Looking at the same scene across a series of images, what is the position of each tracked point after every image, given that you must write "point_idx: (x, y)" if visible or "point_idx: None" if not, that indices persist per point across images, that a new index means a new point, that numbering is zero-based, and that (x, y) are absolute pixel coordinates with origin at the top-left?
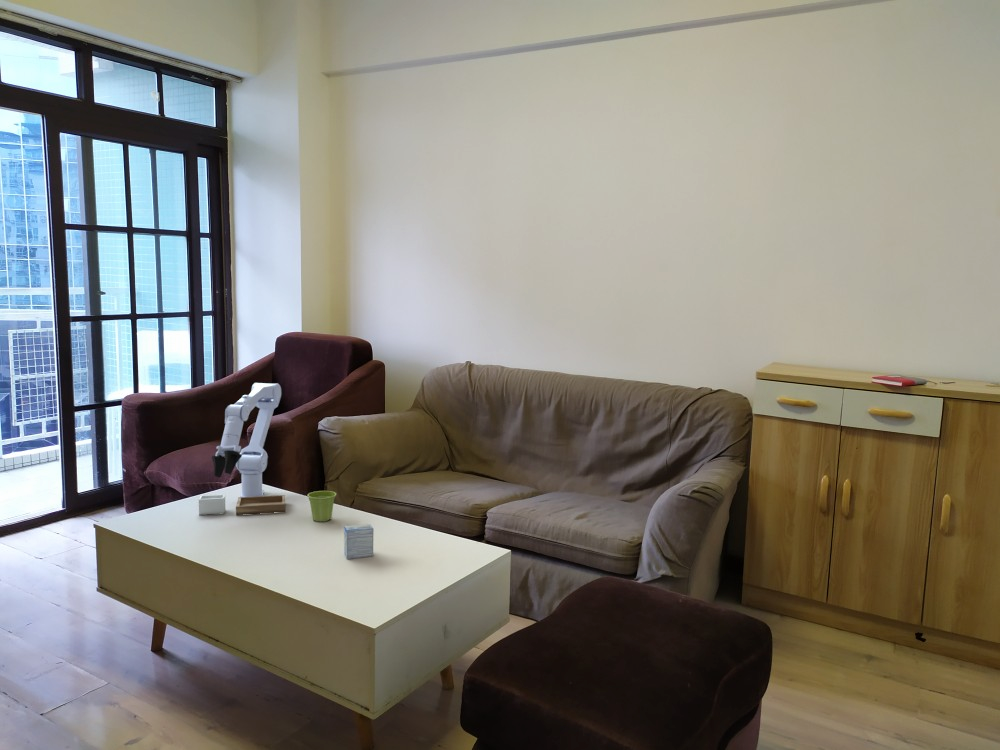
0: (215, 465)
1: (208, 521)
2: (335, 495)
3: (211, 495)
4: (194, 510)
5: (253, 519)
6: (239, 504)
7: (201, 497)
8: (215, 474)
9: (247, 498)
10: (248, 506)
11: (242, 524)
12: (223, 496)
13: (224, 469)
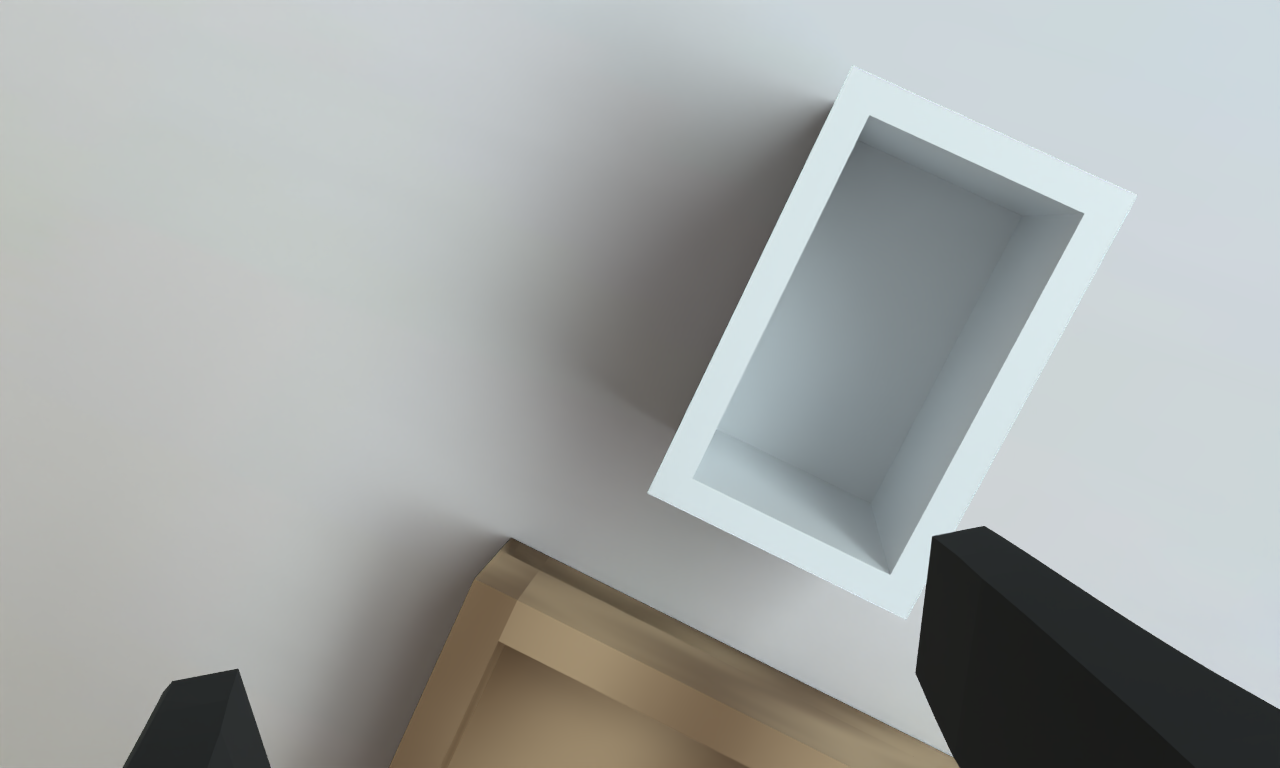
0: (1176, 762)
1: (460, 120)
2: None
3: (995, 380)
4: (1167, 131)
5: (217, 640)
6: (567, 674)
7: (978, 165)
8: (957, 573)
9: None
10: (405, 737)
11: (91, 443)
12: (774, 535)
13: (212, 736)
